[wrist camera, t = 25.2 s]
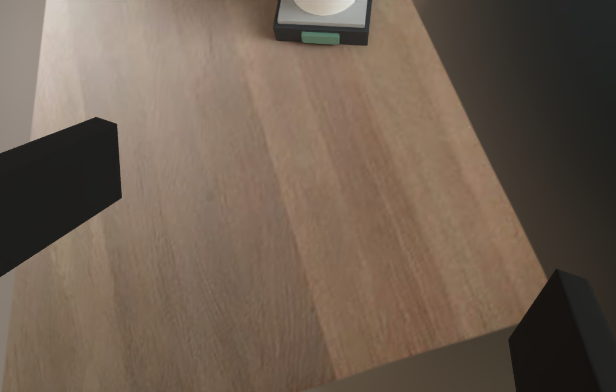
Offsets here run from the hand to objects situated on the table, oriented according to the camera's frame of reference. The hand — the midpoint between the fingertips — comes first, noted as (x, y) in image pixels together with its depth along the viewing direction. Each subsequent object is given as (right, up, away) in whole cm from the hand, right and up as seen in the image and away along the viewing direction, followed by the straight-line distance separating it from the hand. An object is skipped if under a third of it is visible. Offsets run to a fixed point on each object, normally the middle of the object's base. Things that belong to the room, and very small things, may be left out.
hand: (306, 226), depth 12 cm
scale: (+2, +25, +38) cm, 45 cm away
